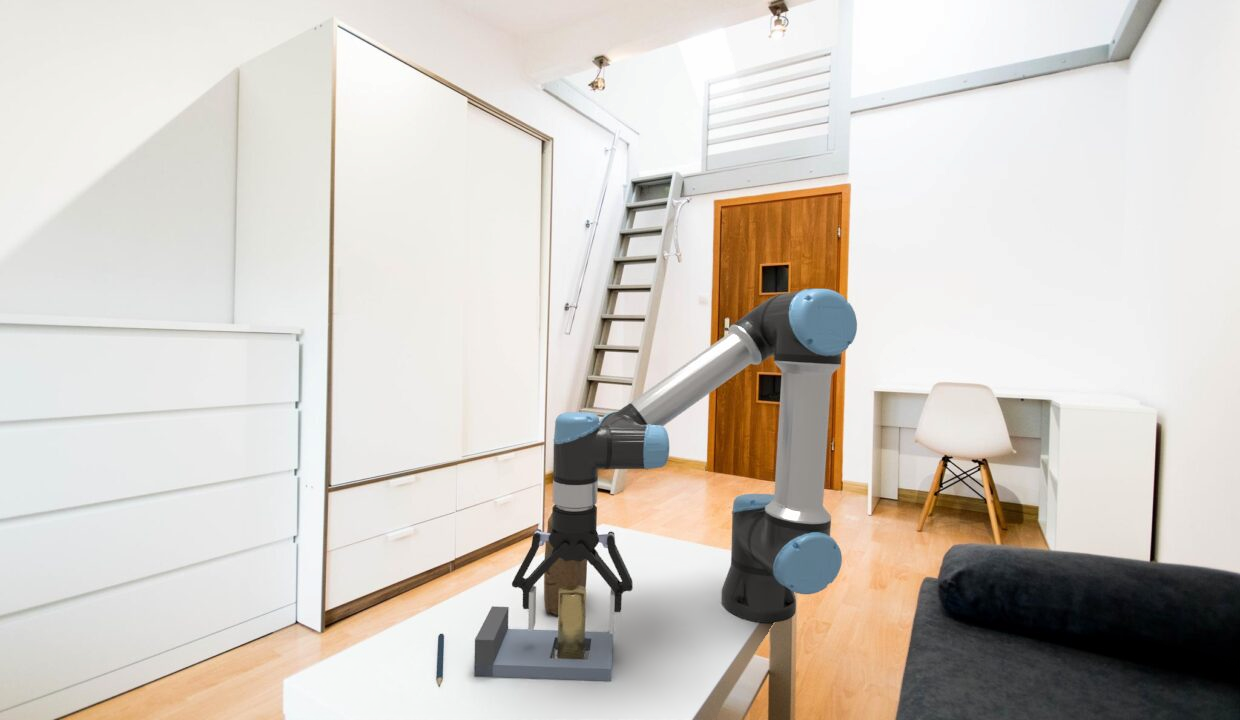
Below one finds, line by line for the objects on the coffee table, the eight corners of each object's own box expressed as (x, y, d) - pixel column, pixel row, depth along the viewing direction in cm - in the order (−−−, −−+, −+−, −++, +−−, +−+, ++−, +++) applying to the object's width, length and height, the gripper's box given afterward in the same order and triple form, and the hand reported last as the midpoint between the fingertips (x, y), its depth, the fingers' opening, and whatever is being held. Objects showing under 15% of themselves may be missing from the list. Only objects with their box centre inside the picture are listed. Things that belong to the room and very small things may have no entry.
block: (577, 620, 106) (579, 518, 105) (540, 616, 107) (542, 515, 107) (589, 595, 117) (592, 502, 116) (556, 591, 118) (558, 500, 117)
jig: (612, 643, 98) (613, 610, 98) (611, 681, 87) (612, 644, 87) (491, 639, 99) (491, 606, 98) (474, 676, 88) (474, 639, 87)
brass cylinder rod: (585, 652, 95) (587, 584, 95) (583, 668, 91) (584, 597, 90) (559, 651, 95) (560, 584, 95) (555, 667, 91) (557, 596, 90)
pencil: (443, 638, 99) (442, 689, 85) (438, 638, 99) (435, 689, 84) (444, 633, 99) (442, 683, 85) (438, 633, 99) (436, 684, 84)
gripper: (647, 500, 96) (644, 619, 96) (506, 496, 96) (503, 614, 97) (649, 513, 88) (645, 642, 89) (495, 509, 88) (493, 637, 89)
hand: (571, 628), depth 93 cm, fingers open, 13 cm apart
